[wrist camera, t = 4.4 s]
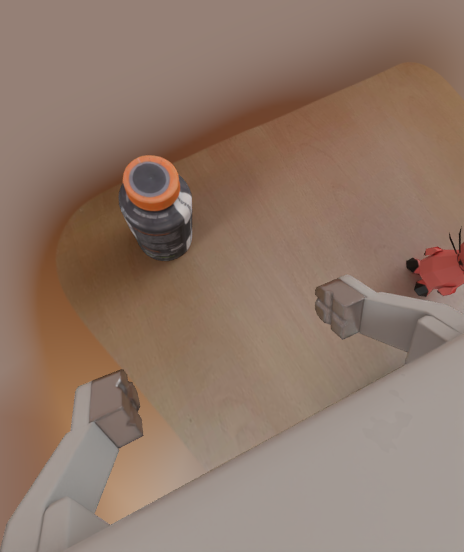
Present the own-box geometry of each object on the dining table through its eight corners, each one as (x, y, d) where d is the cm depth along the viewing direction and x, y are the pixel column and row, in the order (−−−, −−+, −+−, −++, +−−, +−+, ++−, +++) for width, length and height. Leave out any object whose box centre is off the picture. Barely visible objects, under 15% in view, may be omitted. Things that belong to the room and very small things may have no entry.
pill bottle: (202, 231, 31) (208, 170, 20) (172, 272, 29) (161, 231, 18) (158, 203, 31) (141, 128, 20) (126, 243, 29) (88, 184, 18)
